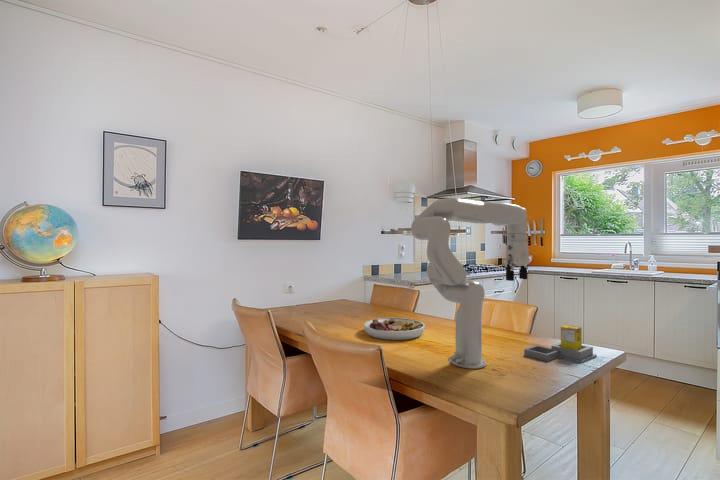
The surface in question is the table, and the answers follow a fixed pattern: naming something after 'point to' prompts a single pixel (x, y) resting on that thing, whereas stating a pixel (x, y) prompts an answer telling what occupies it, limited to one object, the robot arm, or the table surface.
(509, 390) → the table surface
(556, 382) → the table surface
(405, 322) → the bowl
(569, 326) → the supplement box
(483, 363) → the robot arm
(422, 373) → the table surface
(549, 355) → the grey square tray
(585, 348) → the block
